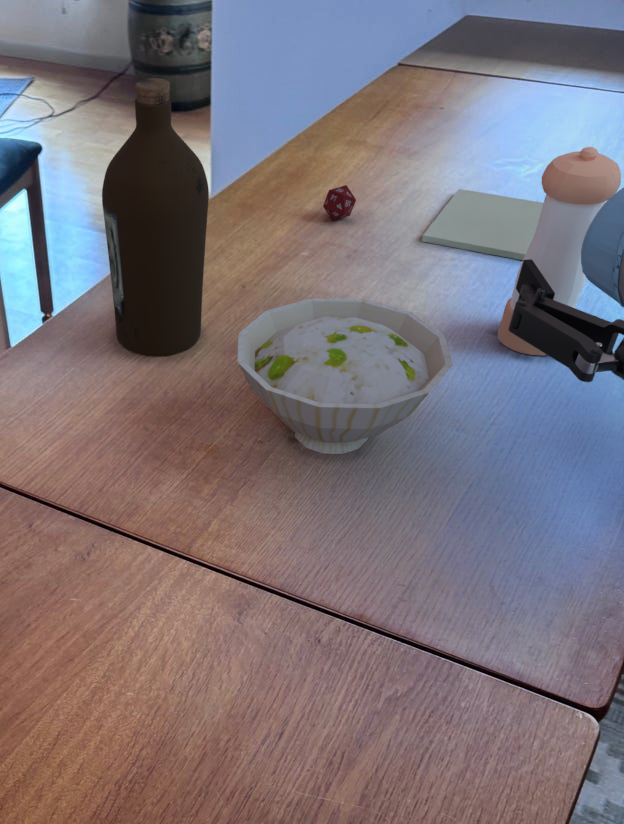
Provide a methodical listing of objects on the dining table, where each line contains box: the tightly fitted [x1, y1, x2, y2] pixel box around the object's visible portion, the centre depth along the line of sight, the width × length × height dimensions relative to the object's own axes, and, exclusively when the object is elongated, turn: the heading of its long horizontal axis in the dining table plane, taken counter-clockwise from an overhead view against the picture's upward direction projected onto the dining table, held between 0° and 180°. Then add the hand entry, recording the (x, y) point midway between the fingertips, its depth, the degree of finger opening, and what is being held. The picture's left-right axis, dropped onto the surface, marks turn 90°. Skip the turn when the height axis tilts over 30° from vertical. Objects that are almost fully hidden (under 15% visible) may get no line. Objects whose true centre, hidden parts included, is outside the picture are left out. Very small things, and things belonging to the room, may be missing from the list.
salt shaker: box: [497, 146, 622, 356], centre depth 91 cm, size 7×7×19 cm
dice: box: [322, 184, 357, 222], centre depth 119 cm, size 4×4×4 cm
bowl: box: [237, 297, 454, 455], centre depth 84 cm, size 19×19×10 cm
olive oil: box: [101, 77, 210, 357], centre depth 92 cm, size 11×11×25 cm
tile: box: [421, 188, 544, 261], centre depth 116 cm, size 16×16×1 cm
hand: (597, 271), depth 83 cm, fingers open, 13 cm apart
